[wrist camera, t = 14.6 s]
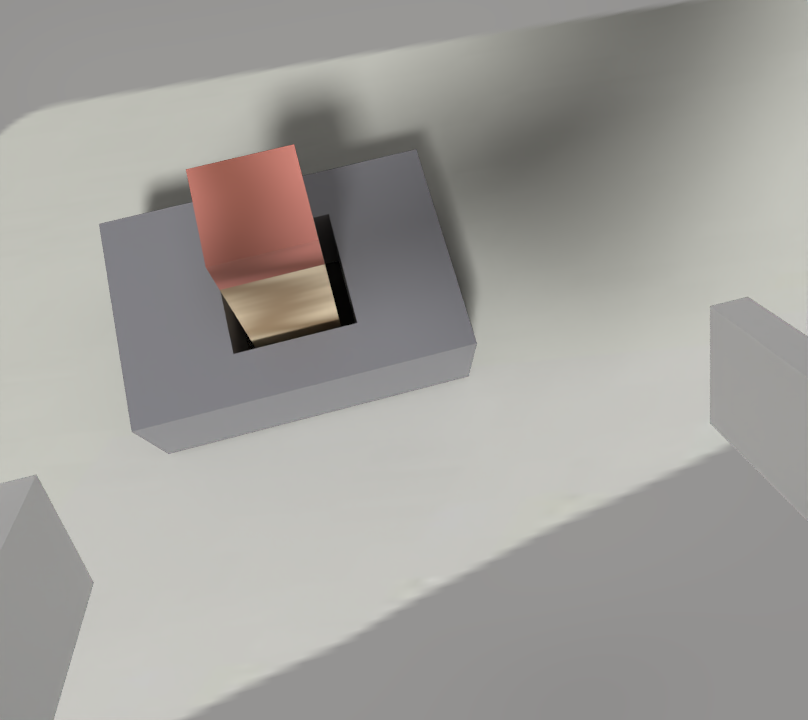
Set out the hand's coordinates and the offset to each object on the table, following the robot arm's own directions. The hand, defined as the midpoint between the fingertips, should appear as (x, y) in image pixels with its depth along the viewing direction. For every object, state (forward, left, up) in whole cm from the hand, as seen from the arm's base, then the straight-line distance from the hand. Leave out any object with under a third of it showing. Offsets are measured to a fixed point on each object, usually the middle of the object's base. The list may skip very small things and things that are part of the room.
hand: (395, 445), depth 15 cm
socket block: (+2, -12, -21) cm, 24 cm away
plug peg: (+2, -12, -21) cm, 24 cm away
